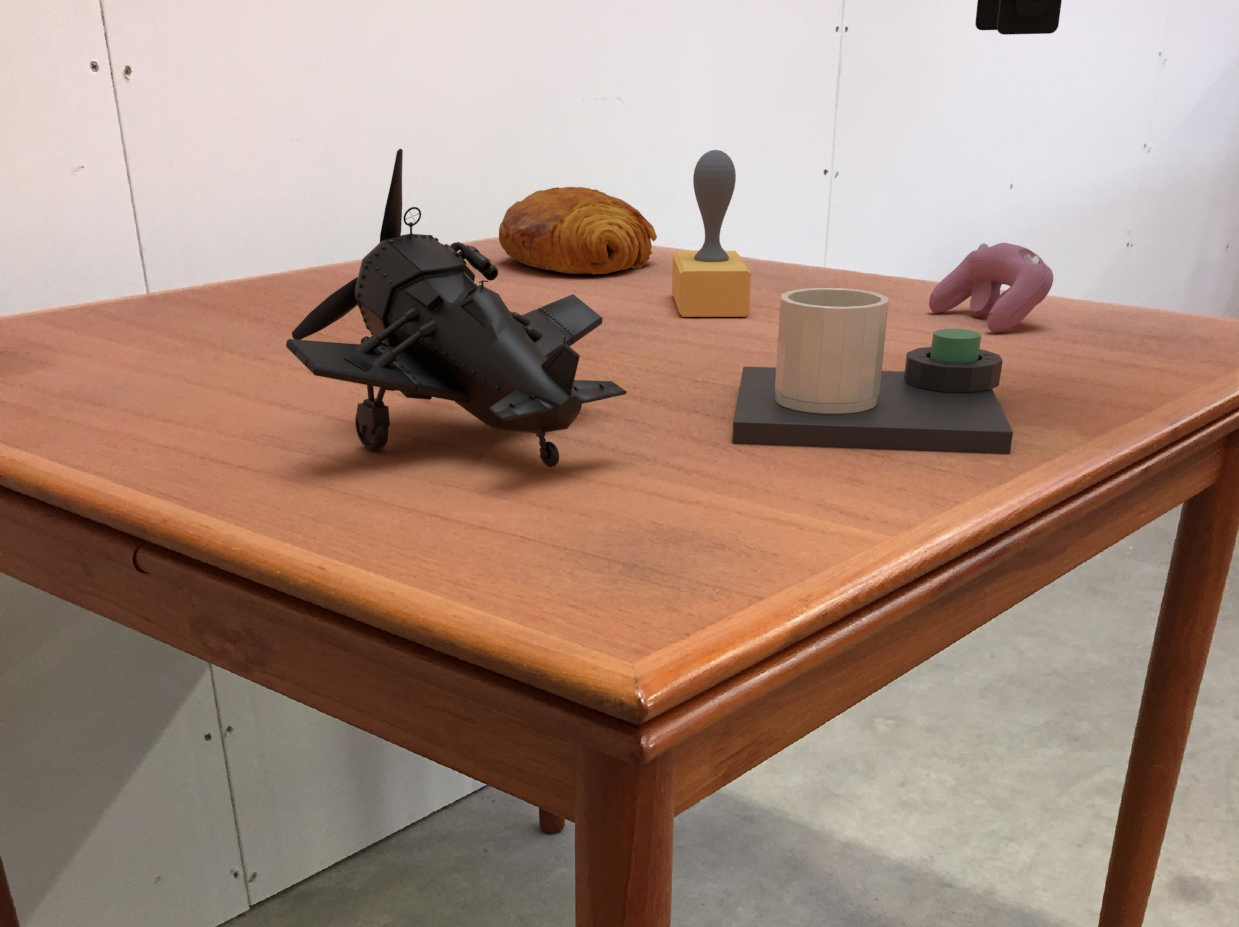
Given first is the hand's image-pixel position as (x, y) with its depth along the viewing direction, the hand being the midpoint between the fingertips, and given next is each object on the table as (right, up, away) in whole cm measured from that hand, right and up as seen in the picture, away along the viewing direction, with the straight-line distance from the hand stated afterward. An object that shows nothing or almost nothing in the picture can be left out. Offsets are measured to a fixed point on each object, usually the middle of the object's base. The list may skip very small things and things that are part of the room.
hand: (1013, 31), depth 77 cm
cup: (-10, -20, +5) cm, 23 cm away
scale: (-7, -20, +7) cm, 23 cm away
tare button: (-1, -16, +9) cm, 18 cm away
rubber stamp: (-15, -1, +38) cm, 41 cm away
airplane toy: (-31, -24, +2) cm, 39 cm away
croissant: (-27, +9, +55) cm, 62 cm away
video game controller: (+7, -4, +33) cm, 34 cm away
